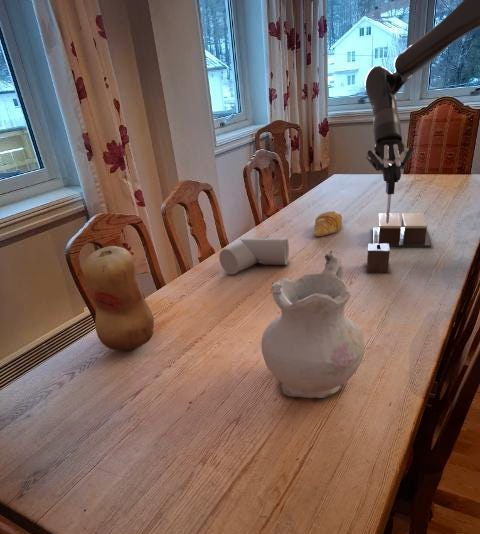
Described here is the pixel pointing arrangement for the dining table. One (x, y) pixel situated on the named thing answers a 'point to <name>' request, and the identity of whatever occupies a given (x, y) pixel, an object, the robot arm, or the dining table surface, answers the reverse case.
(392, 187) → the knife
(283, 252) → the bent grey cylinder
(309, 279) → the ceramic pitcher
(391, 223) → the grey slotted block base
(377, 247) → the knife block
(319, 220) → the croissant
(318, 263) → the dining table surface
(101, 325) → the butternut squash
